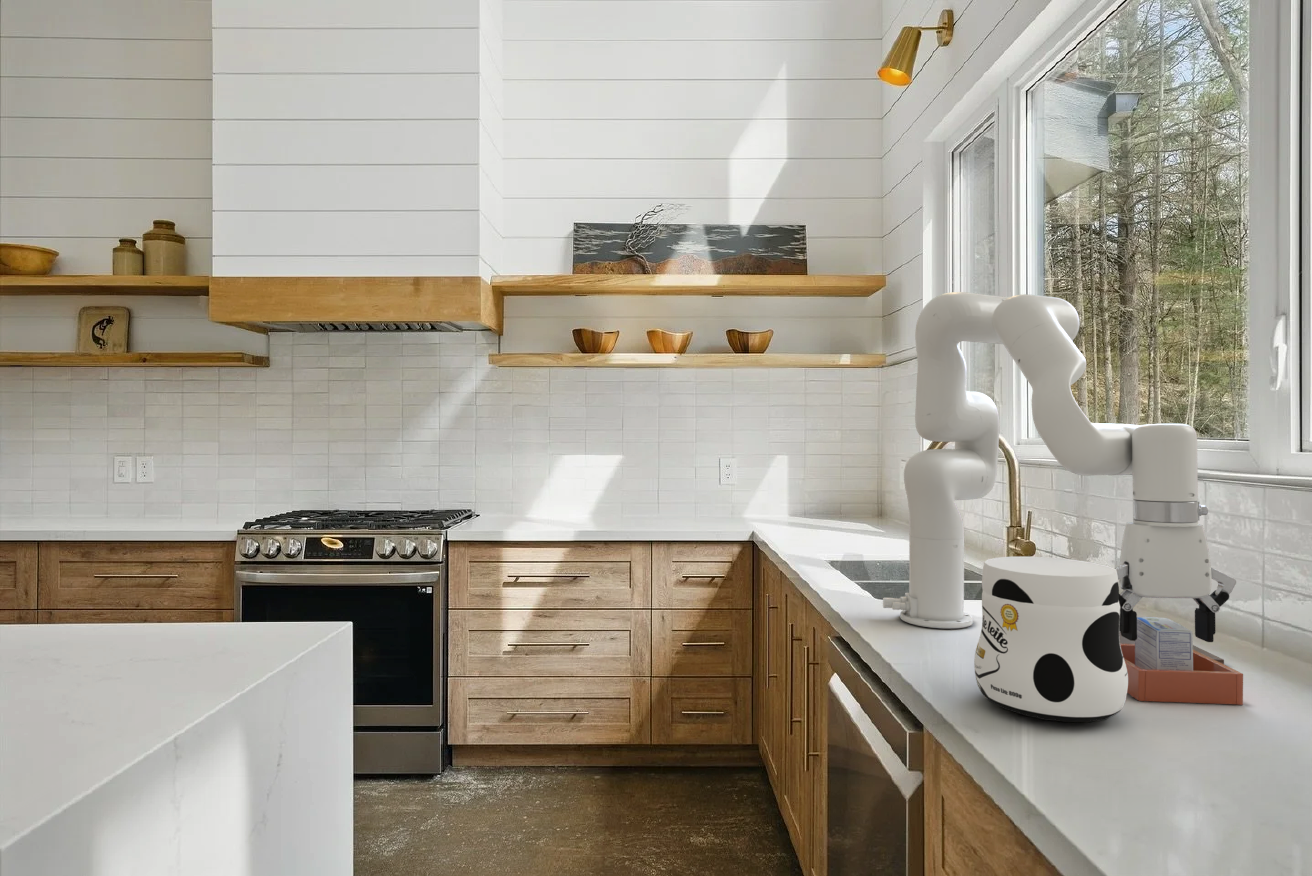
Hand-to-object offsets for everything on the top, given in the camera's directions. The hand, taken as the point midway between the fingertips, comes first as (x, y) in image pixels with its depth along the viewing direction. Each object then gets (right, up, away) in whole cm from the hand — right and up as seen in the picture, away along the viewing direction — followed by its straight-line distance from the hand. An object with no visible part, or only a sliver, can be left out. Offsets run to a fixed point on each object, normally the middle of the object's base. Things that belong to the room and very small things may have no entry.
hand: (1166, 638), depth 108 cm
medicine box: (0, -7, 0) cm, 7 cm away
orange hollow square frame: (0, -7, 0) cm, 7 cm away
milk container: (-20, -7, -8) cm, 23 cm away
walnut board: (+5, -7, +19) cm, 21 cm away
